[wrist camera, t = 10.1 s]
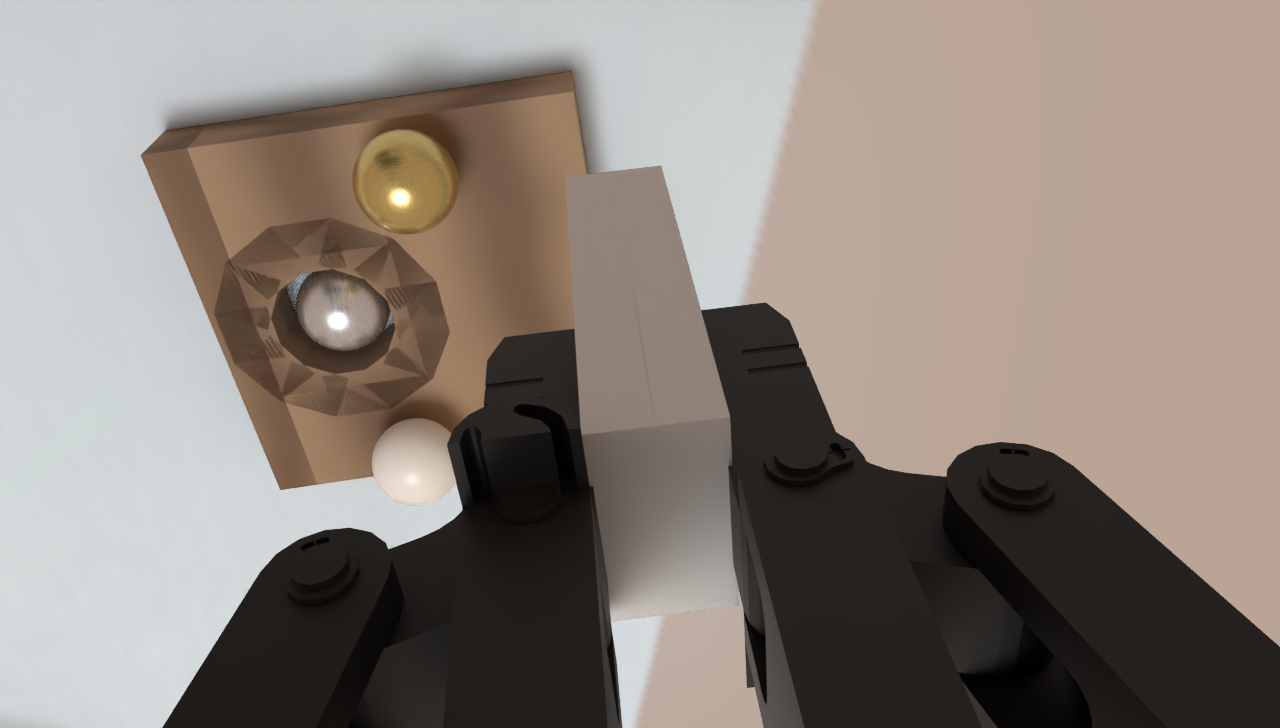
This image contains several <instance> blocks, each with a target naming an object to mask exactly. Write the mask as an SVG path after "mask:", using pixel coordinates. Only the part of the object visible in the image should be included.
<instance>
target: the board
mask: <svg viewBox="0 0 1280 728" xmlns="http://www.w3.org/2000/svg"><path fill="white" fill-rule="evenodd" d="M398 129H409V130H415V131H419V132H422V133H424V134H427V135H429V136H430V137H432V138H434V139H435V140H436V141H438V142H439V143H440V144H441V145H442V146H443V147H444V148H445V149H446V150H447V151H448V153H449V154H450V156H451V157H452V159H453V161H454V163H455V166H456V169H457V173H458V179H459V189H458V195H457V199H456V202H455V204H454V207H453V209H452V210H451V212H450V213H449V215H448V216H447V217H446V218H445V219H444V220H443V221H442V222H441V223H440V224H439V225H437V226H436V227H434V228H432V229H430V230H428V231H426V232H423V233H419V234H411V235H405V234H397V233H393V232H390V231H387V230H385V229H383V228H381V227H379V226H377V225H376V224H375V223H373V222H372V221H371V220H370V219H369V218H368V217H367V216H366V215H365V214H364V213H363V211H362V210H361V208H360V207H359V205H358V203H357V201H356V198H355V195H354V191H353V184H352V173H353V168H354V164H355V162H356V159H357V157H358V155H359V153H360V152H361V150H362V149H363V148H364V146H365V145H366V144H367V143H368V142H369V141H371V140H372V139H374V138H375V137H376V136H378V135H380V134H382V133H385V132H388V131H392V130H398ZM141 157H142V159H143V162H144V164H145V166H146V169H147V171H148V174H149V176H150V178H151V181H152V183H153V186H154V188H155V190H156V193H157V195H158V198H159V200H160V202H161V205H162V207H163V210H164V212H165V214H166V217H167V219H168V222H169V224H170V226H171V229H172V231H173V234H174V236H175V238H176V241H177V243H178V246H179V248H180V250H181V253H182V255H183V258H184V260H185V262H186V265H187V267H188V270H189V272H190V274H191V277H192V279H193V282H194V284H195V286H196V289H197V291H198V294H199V296H200V298H201V301H202V303H203V306H204V308H205V310H206V313H207V315H208V318H209V320H210V322H211V325H212V327H213V330H214V332H215V334H216V337H217V339H218V342H219V344H220V346H221V349H222V351H223V354H224V356H225V358H226V361H227V363H228V365H229V368H230V370H231V373H232V375H233V377H234V380H235V382H236V385H237V387H238V389H239V392H240V394H241V397H242V399H243V401H244V404H245V406H246V409H247V411H248V413H249V416H250V418H251V421H252V423H253V425H254V428H255V430H256V433H257V435H258V437H259V440H260V442H261V445H262V447H263V449H264V452H265V454H266V457H267V459H268V461H269V464H270V466H271V469H272V471H273V473H274V476H275V478H276V481H277V483H278V485H279V488H280V490H283V489H290V488H297V487H304V486H310V485H317V484H324V483H331V482H338V481H345V480H351V479H358V478H365V477H372V476H374V475H373V471H372V456H373V451H374V448H375V446H376V443H377V442H378V440H379V438H380V437H381V435H382V434H383V433H384V432H385V431H386V430H387V429H389V428H390V427H391V426H393V425H394V424H396V423H398V422H400V421H403V420H407V419H412V418H423V419H429V420H432V421H435V422H437V423H439V424H441V425H442V426H444V427H445V428H446V429H447V430H448V431H449V432H450V433H451V434H452V431H453V429H454V428H455V427H456V426H457V425H458V424H459V423H460V422H461V421H462V420H463V419H465V418H466V417H467V416H468V415H469V414H471V413H473V412H475V411H477V410H479V409H481V408H483V407H484V394H485V389H486V386H485V381H486V368H487V360H488V358H489V357H490V356H491V354H492V353H493V352H494V350H495V349H496V348H497V346H498V345H499V344H500V342H501V341H502V339H503V338H504V337H509V336H517V335H525V334H534V333H542V332H550V331H558V330H567V329H575V328H574V312H573V295H572V279H571V263H570V247H569V230H568V214H567V198H566V181H565V177H569V176H578V175H586V174H588V169H587V163H586V157H585V151H584V144H583V138H582V132H581V126H580V120H579V114H578V107H577V101H576V95H575V89H574V83H573V76H572V71H570V72H563V73H556V74H549V75H543V76H536V77H529V78H522V79H515V80H509V81H502V82H495V83H488V84H481V85H475V86H468V87H461V88H454V89H447V90H441V91H434V92H427V93H420V94H413V95H407V96H400V97H393V98H386V99H380V100H373V101H366V102H359V103H352V104H346V105H339V106H332V107H325V108H318V109H312V110H305V111H298V112H291V113H284V114H278V115H271V116H264V117H257V118H250V119H244V120H237V121H230V122H223V123H216V124H210V125H203V126H196V127H189V128H182V129H176V130H169V131H165V132H164V133H163V134H162V135H161V136H160V137H159V138H158V139H157V140H156V141H155V142H154V143H153V144H152V145H151V146H149V147H148V148H147V149H146V150H145V151H144V152H143V153H142V154H141ZM330 269H333V270H337V271H340V272H343V273H346V274H349V275H352V276H355V277H359V278H362V279H365V280H366V281H367V282H368V283H369V284H370V285H371V286H372V287H373V288H374V289H375V290H376V291H377V292H378V293H379V294H381V295H382V296H383V297H384V298H385V299H386V300H387V301H388V304H389V307H390V311H391V314H392V317H393V321H394V324H392V325H391V326H390V327H388V328H387V329H386V330H384V331H383V332H382V333H381V334H380V335H379V336H378V337H377V338H376V339H375V340H374V341H372V342H371V343H370V344H368V345H366V346H364V347H361V348H359V349H355V350H348V351H339V350H333V349H329V348H326V347H324V346H322V345H320V344H318V343H317V342H315V341H314V340H313V339H312V338H311V337H310V336H309V335H308V334H307V333H306V332H305V330H304V329H303V328H302V326H301V324H300V322H299V319H298V316H297V315H296V314H295V312H294V309H293V306H292V304H291V301H290V298H289V295H288V293H287V290H286V285H287V284H288V283H290V282H291V281H292V280H293V279H294V278H296V277H297V276H298V275H299V274H303V273H309V272H316V271H323V270H330Z"/></svg>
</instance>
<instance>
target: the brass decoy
mask: <svg viewBox="0 0 1280 728" xmlns="http://www.w3.org/2000/svg"><path fill="white" fill-rule="evenodd" d="M352 184H353V191H354V195H355V198H356V201H357V203H358V205H359V207H360V208H361V210H362V211H363V213H364V214H365V215H366V216H367V217H368V218H369V219H370V220H371V221H372V222H373V223H375V224H376V225H377V226H379V227H381V228H383V229H385V230H387V231H390V232H393V233H397V234H405V235H411V234H419V233H423V232H426V231H428V230H430V229H432V228H434V227H436V226H437V225H439V224H440V223H441V222H442V221H443V220H444V219H445V218H446V217H447V216H448V215H449V213H450V212H451V210H452V209H453V207H454V204H455V202H456V199H457V195H458V189H459V179H458V173H457V169H456V166H455V163H454V161H453V159H452V157H451V156H450V154H449V153H448V151H447V150H446V149H445V148H444V147H443V146H442V145H441V144H440V143H439V142H438V141H436V140H435V139H434V138H432V137H430V136H429V135H427V134H424V133H422V132H419V131H415V130H409V129H398V130H392V131H388V132H385V133H382V134H380V135H378V136H376V137H375V138H374V139H372V140H371V141H369V142H368V143H367V144H366V145H365V146H364V148H363V149H362V150H361V152H360V153H359V155H358V157H357V159H356V162H355V164H354V168H353V173H352Z"/></svg>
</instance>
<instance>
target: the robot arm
mask: <svg viewBox="0 0 1280 728" xmlns="http://www.w3.org/2000/svg"><path fill="white" fill-rule="evenodd" d="M565 181H566V198H567V214H568V230H569V247H570V263H571V279H572V295H573V312H574V328H575V329H567V330H558V331H550V332H542V333H534V334H525V335H517V336H509V337H504V338H503V339H502V341H501V342H500V344H499V345H498V346H497V348H496V349H495V350H494V352H493V353H492V354H491V356H490V357H489V358H488V360H487V368H486V381H485V386H486V389H485V394H484V407H483V408H481V409H479V410H477V411H475V412H473V413H471V414H469V415H468V416H467V417H466V418H465V419H463V420H462V421H461V422H460V423H459V424H458V425H457V426H456V427H455V428H454V429H453V431H452V434H451V436H450V439H449V441H448V443H447V448H448V452H449V455H450V459H451V463H452V467H453V471H454V475H455V479H456V483H457V487H458V491H459V495H460V499H461V503H462V507H463V509H462V512H461V513H460V514H459V515H458V516H457V517H456V518H455V519H453V520H452V521H450V522H449V523H447V524H446V525H445V526H443V527H442V528H440V529H438V530H436V531H434V532H432V533H430V534H428V535H425V536H423V537H421V538H418V539H416V540H413V541H410V542H408V543H405V544H402V545H399V546H397V547H394V548H391V549H388V548H387V545H386V543H385V542H384V541H382V540H381V539H380V538H378V537H377V536H375V535H374V534H373V533H371V532H367V531H363V530H358V529H353V528H343V529H332V530H324V531H321V532H318V533H316V534H313V535H310V536H307V537H304V538H301V539H299V540H297V541H296V542H294V543H293V544H291V545H290V546H288V547H286V548H285V549H283V550H282V551H280V552H279V553H277V554H276V555H275V556H274V557H273V559H272V560H271V561H270V562H269V563H268V564H267V565H266V566H265V567H264V569H263V570H262V571H261V572H260V573H259V575H258V577H257V578H256V580H255V581H254V583H253V585H252V586H251V588H250V589H249V591H248V593H247V594H246V596H245V597H244V599H243V600H242V602H241V604H240V605H239V607H238V608H237V610H236V612H235V613H234V615H233V616H232V618H231V620H230V621H229V623H228V624H227V626H226V627H225V629H224V631H223V632H222V634H221V635H220V637H219V639H218V640H217V642H216V643H215V645H214V647H213V648H212V650H211V651H210V653H209V654H208V656H207V658H206V659H205V661H204V662H203V664H202V666H201V667H200V669H199V670H198V672H197V674H196V675H195V677H194V678H193V680H192V681H191V683H190V685H189V686H188V688H187V689H186V691H185V693H184V694H183V696H182V697H181V699H180V701H179V702H178V704H177V705H176V707H175V708H174V710H173V712H172V713H171V715H170V716H169V718H168V720H167V721H166V723H165V724H164V726H163V728H622V719H621V708H620V697H619V685H618V674H617V662H616V655H615V648H614V642H613V635H612V628H611V622H613V621H621V620H629V619H636V618H644V617H652V616H660V615H667V614H675V613H682V612H691V611H699V610H706V609H713V608H721V607H730V606H737V605H739V597H738V587H739V592H740V596H741V600H742V605H743V609H744V627H745V650H746V673H747V688H750V687H755V690H756V694H757V699H758V703H759V708H760V712H761V717H762V721H763V726H764V728H1280V647H1279V646H1278V645H1277V644H1276V643H1275V642H1274V641H1272V640H1271V639H1270V638H1269V637H1268V636H1267V635H1266V634H1264V633H1263V632H1262V631H1261V630H1260V629H1259V628H1257V627H1256V626H1255V625H1254V624H1253V623H1252V622H1251V621H1250V620H1248V619H1247V618H1246V617H1245V616H1244V615H1243V614H1242V613H1240V612H1239V611H1238V610H1237V609H1236V608H1235V607H1233V606H1232V605H1231V604H1230V603H1229V602H1228V601H1227V600H1226V599H1224V598H1223V597H1222V596H1221V595H1220V594H1219V593H1218V592H1216V591H1215V590H1214V589H1213V588H1212V587H1211V586H1209V585H1208V584H1207V583H1206V582H1205V581H1204V580H1203V579H1202V578H1200V577H1199V576H1198V575H1197V574H1196V573H1195V572H1194V571H1193V570H1191V569H1190V568H1189V567H1188V566H1187V565H1186V564H1185V563H1183V562H1182V561H1181V560H1180V559H1179V558H1178V557H1177V556H1175V555H1174V554H1173V553H1172V552H1171V551H1170V550H1169V549H1167V548H1166V547H1165V546H1164V545H1163V544H1162V543H1161V542H1159V541H1158V540H1157V539H1156V538H1155V537H1154V536H1153V535H1151V534H1150V533H1149V532H1148V531H1147V530H1146V529H1145V528H1143V527H1142V526H1141V525H1140V524H1139V523H1138V522H1137V521H1135V520H1134V519H1133V518H1132V517H1131V516H1130V515H1129V514H1128V513H1126V512H1125V511H1124V510H1123V509H1122V508H1121V507H1120V506H1118V505H1117V504H1116V503H1115V502H1114V501H1113V500H1112V499H1110V498H1109V497H1108V496H1107V495H1106V494H1105V493H1103V492H1102V491H1101V490H1100V489H1099V488H1098V487H1097V486H1096V485H1094V484H1093V483H1092V482H1091V481H1090V480H1089V479H1088V478H1086V477H1085V476H1084V475H1083V474H1082V473H1081V472H1080V471H1078V470H1077V469H1076V468H1075V467H1074V466H1072V465H1071V464H1069V463H1068V462H1066V461H1064V460H1063V459H1061V458H1060V457H1058V456H1057V455H1055V454H1054V453H1051V452H1049V451H1045V450H1042V449H1039V448H1036V447H1033V446H1030V445H1027V444H1015V443H1005V442H998V443H991V444H985V445H978V446H975V447H973V448H971V449H969V450H967V451H965V452H963V453H961V454H959V455H958V456H957V457H956V458H955V460H954V461H953V462H952V464H951V465H950V466H949V468H948V469H947V477H941V476H931V475H921V474H911V473H904V472H899V471H893V470H888V469H884V468H882V467H879V466H876V465H873V464H870V463H868V462H867V461H866V460H865V458H864V456H863V455H862V453H861V452H860V451H859V449H858V448H857V447H856V446H855V444H854V443H853V442H852V441H850V440H848V439H847V438H845V437H843V436H841V435H840V434H838V433H836V432H835V429H834V427H833V424H832V422H831V419H830V417H829V415H828V412H827V410H826V407H825V405H824V403H823V400H822V398H821V395H820V393H819V391H818V389H817V386H816V383H815V381H814V379H813V376H812V374H811V371H810V369H809V367H807V362H806V359H805V357H804V355H803V352H802V350H801V348H799V343H798V340H797V338H796V335H795V333H794V331H793V328H792V326H791V323H790V321H789V320H788V319H787V318H785V317H784V316H783V315H781V314H780V313H779V312H777V311H776V310H775V309H773V308H772V307H771V306H770V305H768V304H767V303H759V304H750V305H742V306H734V307H726V308H717V309H709V310H701V309H700V305H699V302H698V298H697V294H696V291H695V287H694V284H693V280H692V276H691V273H690V269H689V265H688V262H687V258H686V254H685V251H684V247H683V244H682V240H681V236H680V233H679V229H678V225H677V222H676V218H675V214H674V211H673V207H672V204H671V200H670V196H669V193H668V189H667V185H666V182H665V178H664V174H663V171H662V167H661V166H654V167H645V168H637V169H628V170H620V171H612V172H603V173H595V174H586V175H578V176H569V177H565Z"/></svg>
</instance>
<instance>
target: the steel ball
mask: <svg viewBox="0 0 1280 728" xmlns="http://www.w3.org/2000/svg"><path fill="white" fill-rule="evenodd" d="M296 309H297V315H298V319H299V322H300V324H301V326H302V328H303V329H304V330H305V332H306V333H307V334H308V335H309V336H310V337H311V338H312V339H313V340H314V341H315V342H317V343H318V344H320V345H322V346H324V347H326V348H329V349H333V350H339V351H348V350H355V349H359V348H361V347H364V346H366V345H368V344H370V343H371V342H372V341H374V340H375V339H376V338H377V337H378V336H379V335H380V334H381V332H382V331H383V330H384V328H385V326H386V324H387V322H388V318H389V314H390V307H389V304H388V301H387V300H386V299H385V298H384V297H383V296H382V295H381V294H379V293H378V292H377V291H376V290H375V289H374V288H373V287H372V286H371V285H370V284H369V283H368V282H367V281H366V280H365V279H362V278H359V277H355V276H352V275H349V274H346V273H343V272H340V271H337V270H333V269H330V270H323V271H316V272H311V273H310V274H309V275H308V276H307V277H306V278H305V280H304V281H303V283H302V284H301V286H300V289H299V291H298V295H297V301H296Z"/></svg>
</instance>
